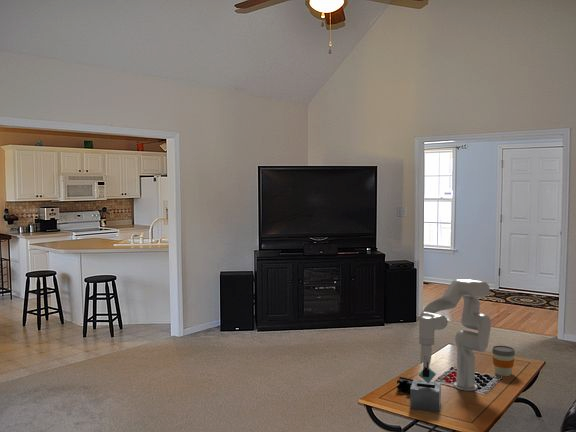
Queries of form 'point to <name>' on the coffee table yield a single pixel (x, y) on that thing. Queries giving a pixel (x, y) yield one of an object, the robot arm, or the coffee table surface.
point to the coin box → (425, 395)
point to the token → (431, 375)
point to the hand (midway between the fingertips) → (426, 375)
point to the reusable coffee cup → (503, 360)
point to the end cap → (404, 385)
